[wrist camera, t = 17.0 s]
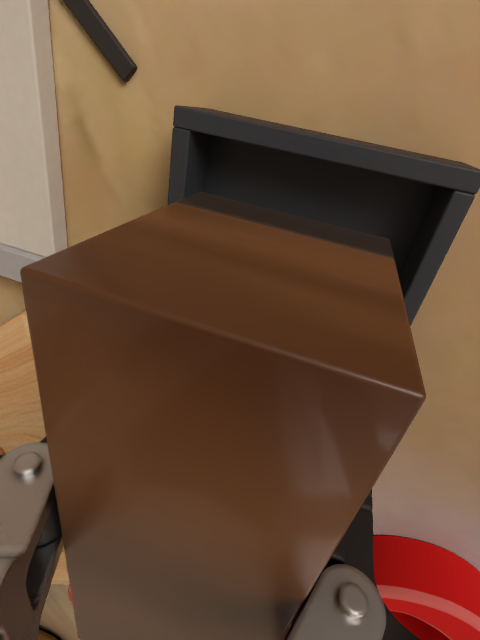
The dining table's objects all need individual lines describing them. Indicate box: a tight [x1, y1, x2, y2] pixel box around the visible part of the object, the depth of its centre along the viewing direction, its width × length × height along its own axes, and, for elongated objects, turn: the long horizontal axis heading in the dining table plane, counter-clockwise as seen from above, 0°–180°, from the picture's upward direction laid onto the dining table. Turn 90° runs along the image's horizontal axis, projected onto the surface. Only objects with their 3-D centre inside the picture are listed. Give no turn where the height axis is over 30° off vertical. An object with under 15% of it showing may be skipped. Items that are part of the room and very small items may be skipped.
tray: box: [168, 106, 480, 326], centre depth 15 cm, size 15×9×3 cm, turn 170°
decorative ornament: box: [373, 535, 480, 640], centre depth 22 cm, size 10×10×3 cm
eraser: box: [20, 192, 426, 640], centre depth 10 cm, size 12×5×6 cm, turn 170°
